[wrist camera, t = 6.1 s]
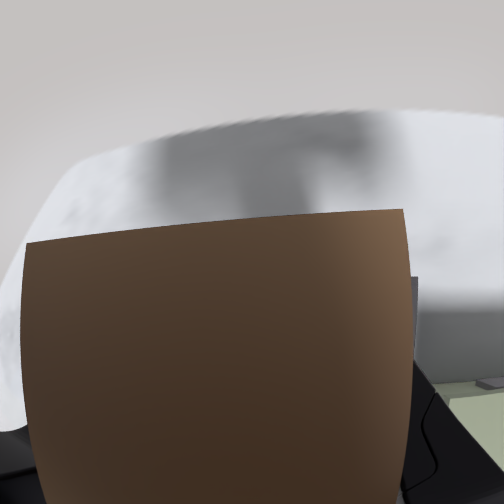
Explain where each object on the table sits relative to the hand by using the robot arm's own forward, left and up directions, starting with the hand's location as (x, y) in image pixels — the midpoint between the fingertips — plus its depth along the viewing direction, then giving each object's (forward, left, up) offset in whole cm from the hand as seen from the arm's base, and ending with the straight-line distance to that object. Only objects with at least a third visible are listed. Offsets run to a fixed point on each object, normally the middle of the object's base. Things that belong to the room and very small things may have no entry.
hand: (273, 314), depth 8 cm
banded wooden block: (-1, -1, -7) cm, 7 cm away
